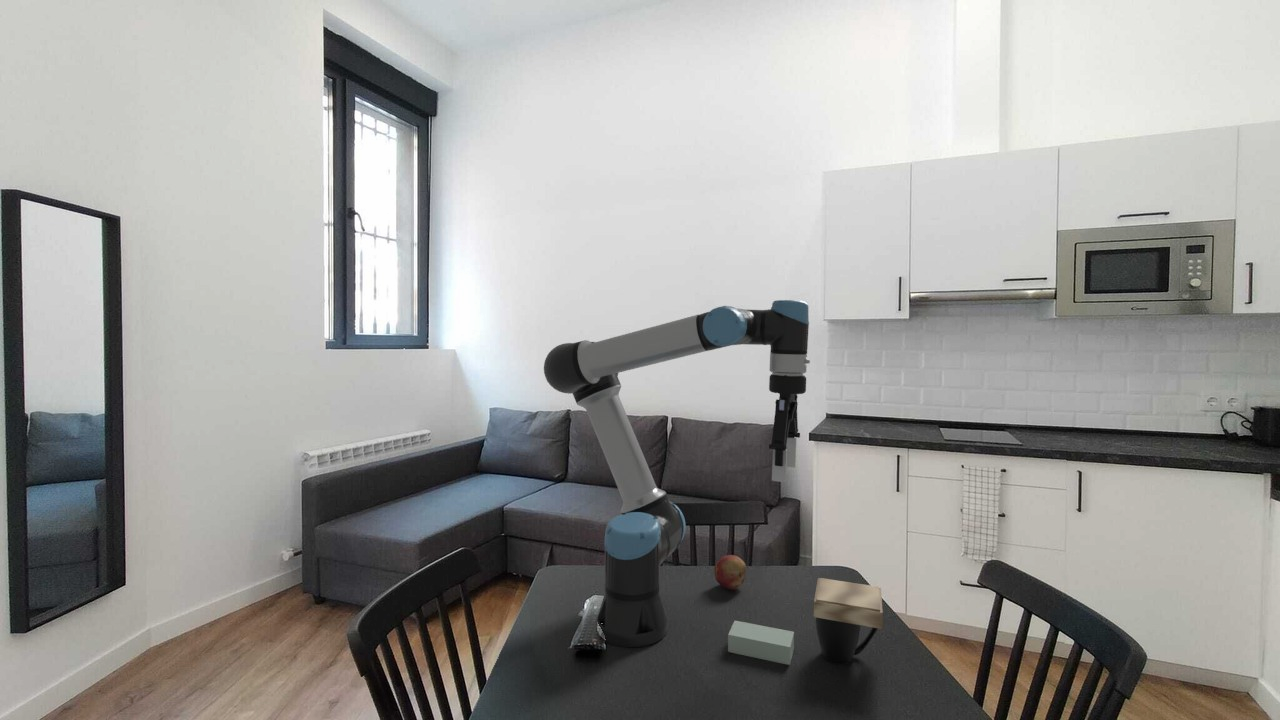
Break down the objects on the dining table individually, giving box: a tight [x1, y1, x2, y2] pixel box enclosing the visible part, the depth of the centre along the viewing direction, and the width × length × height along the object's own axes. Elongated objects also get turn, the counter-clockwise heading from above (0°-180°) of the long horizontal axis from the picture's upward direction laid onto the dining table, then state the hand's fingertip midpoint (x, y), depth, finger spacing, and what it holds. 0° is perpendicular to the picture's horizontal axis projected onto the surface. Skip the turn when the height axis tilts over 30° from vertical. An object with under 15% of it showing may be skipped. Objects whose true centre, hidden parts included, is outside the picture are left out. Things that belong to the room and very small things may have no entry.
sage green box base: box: [727, 620, 795, 666], centre depth 114 cm, size 12×6×4 cm, turn 68°
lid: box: [813, 577, 884, 630], centre depth 111 cm, size 12×11×3 cm
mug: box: [815, 617, 879, 665], centre depth 111 cm, size 8×12×10 cm
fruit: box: [713, 554, 747, 590], centre depth 141 cm, size 8×8×8 cm
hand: (784, 473), depth 121 cm, fingers open, 13 cm apart
